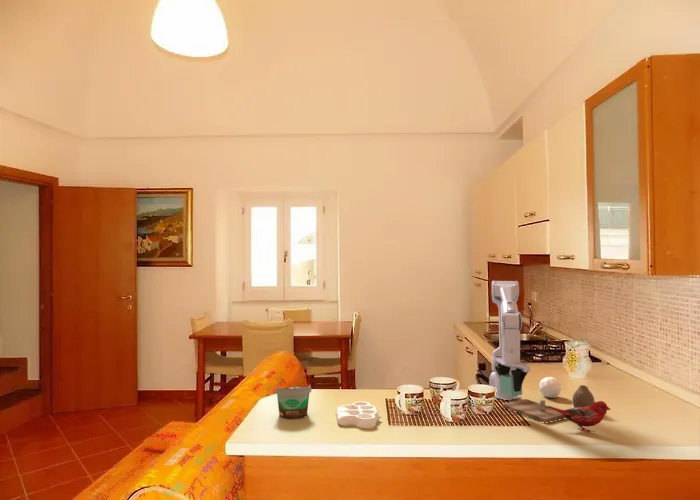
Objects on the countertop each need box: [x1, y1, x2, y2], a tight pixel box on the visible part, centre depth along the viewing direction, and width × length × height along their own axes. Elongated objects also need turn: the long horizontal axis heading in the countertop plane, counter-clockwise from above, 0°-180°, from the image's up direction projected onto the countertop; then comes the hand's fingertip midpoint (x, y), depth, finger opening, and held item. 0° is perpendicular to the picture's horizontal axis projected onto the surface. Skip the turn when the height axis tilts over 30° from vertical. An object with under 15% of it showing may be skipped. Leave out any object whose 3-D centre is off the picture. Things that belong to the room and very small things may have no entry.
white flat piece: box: [335, 401, 383, 429], centre depth 161 cm, size 3×18×15 cm
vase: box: [572, 384, 596, 408], centre depth 169 cm, size 7×7×9 cm
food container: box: [274, 383, 312, 420], centre depth 162 cm, size 12×6×10 cm, turn 105°
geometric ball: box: [538, 376, 562, 399], centre depth 186 cm, size 8×8×8 cm
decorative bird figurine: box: [547, 400, 611, 433], centre depth 151 cm, size 3×18×10 cm, turn 61°
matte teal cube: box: [500, 374, 523, 397], centre depth 165 cm, size 5×5×6 cm
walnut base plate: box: [501, 399, 566, 424], centre depth 167 cm, size 18×12×5 cm, turn 29°
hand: (511, 389), depth 165 cm, fingers closed on matte teal cube, 5 cm apart
